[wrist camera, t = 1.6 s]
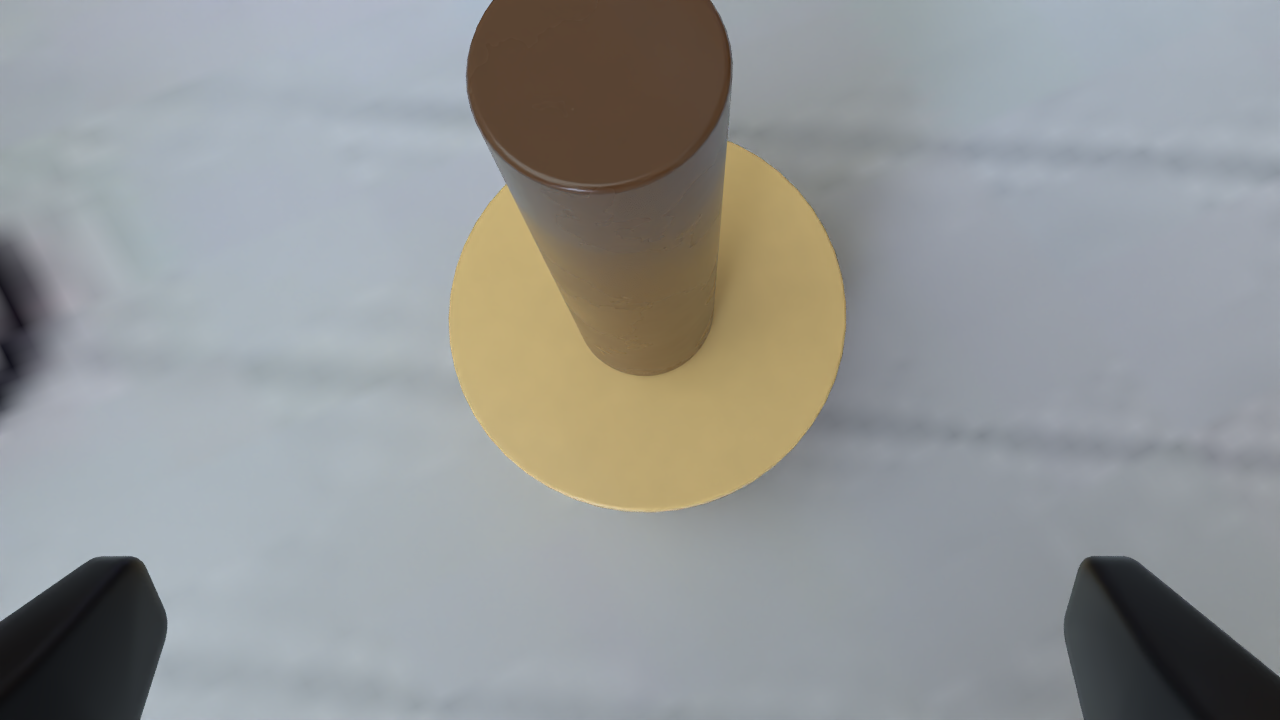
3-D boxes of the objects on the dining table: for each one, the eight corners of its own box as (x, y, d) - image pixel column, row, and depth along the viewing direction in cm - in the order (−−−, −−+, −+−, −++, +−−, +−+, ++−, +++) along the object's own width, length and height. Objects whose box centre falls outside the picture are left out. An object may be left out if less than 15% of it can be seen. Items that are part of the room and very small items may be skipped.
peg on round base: (912, 279, 20) (1153, -33, 9) (692, 594, 19) (690, 634, 8) (607, 80, 21) (523, -388, 11) (386, 367, 20) (54, 158, 10)
